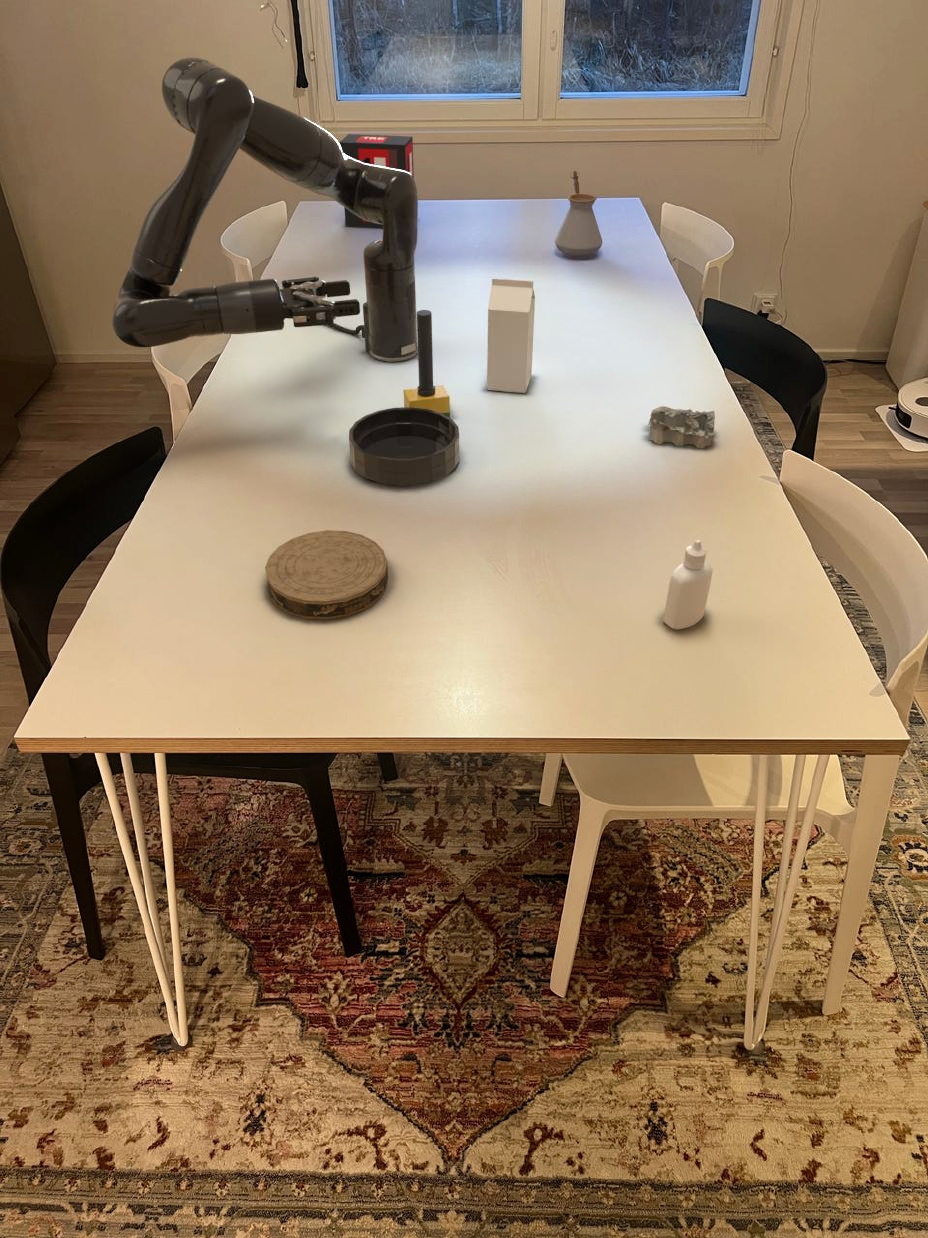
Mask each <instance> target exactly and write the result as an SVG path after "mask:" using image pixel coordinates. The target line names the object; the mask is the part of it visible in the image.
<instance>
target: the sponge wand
mask: <svg viewBox="0 0 928 1238" xmlns="http://www.w3.org/2000/svg"><path fill="white" fill-rule="evenodd" d="M416 320H417V346H418V353H417V364H418V386H417V388H410V389H403V408H405V407H414V408H422V409H429V410H432V411H436V412H439V413H442V414H444V415H446V416H447V417H449V418H451V408H450V407H451V405H450V394H449V393H448V391H447V390H446V388H445V386H444V385H434V363H433V362H434V359H433V358H434V357H433V316H432V311H431V310H428V309H420V310H417V311H416Z"/></svg>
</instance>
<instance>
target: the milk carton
mask: <svg viewBox="0 0 928 1238" xmlns="http://www.w3.org/2000/svg"><path fill="white" fill-rule="evenodd" d="M534 290H535V289H534V280H521V279H509V278H495V277H493V278H491V289H490V295H489V300H488V302H489V303H488V306H487V352H486V353H487V356H486V357H487V358H486V359H487V361H486V390H488V391H494V392H495V391H497V392H506V393H518V394H519V393H520V394H526V393H527V390H528V387H529V384H530V383H531V379H532V371H533V351H534V350H533V349H534V332H535V331H534V329H535V311H536V310H535V307H536V295H535V291H534Z"/></svg>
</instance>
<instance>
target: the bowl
mask: <svg viewBox="0 0 928 1238" xmlns="http://www.w3.org/2000/svg"><path fill="white" fill-rule="evenodd" d="M348 431H349V432H348V443H349V456H350V464H351V465H352V467H353V469H354V471H355V472H356V473H358V474H359V475H360V476H362V477H364V478H365V479H367V480H371V481H373V482H376V483H379V484H381V485H386V486H387V485H389V486H400V487H408V486H417V485H423V484H427V483H431V482H434V481H436V480H439V479H442V478H443V477H445V476H447V475H448V474H450V473H451V472H452V471H453V470H454V469H455V468H456V467H457V465H458V463H459V461H460V430H459V426H458V425H457V423H456V422H455V421H454V419H452V418H451V417H450V418H449V417H447V416H446V415H444V414H442V413H439V412H436V411H432V410H429V409H422V408H414V407H405V408H404V407H391V408H386V409H381V410H377V411H373V412H372V413H369V414H366V415H364V416H363V417H361V418H360V419H358V420H356V421H355V422H354V423H353V424H352V426H351V427H350V428H349V430H348Z"/></svg>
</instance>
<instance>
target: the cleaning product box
mask: <svg viewBox="0 0 928 1238" xmlns="http://www.w3.org/2000/svg"><path fill="white" fill-rule="evenodd" d="M413 139H414V138H413V136H409V135H407V136H406V135H383V134H382V135H381V134H361V133H358V134H357V133H348V134H347V135H346V136H345V137H344V138H342V139H341V140H340V141H338V143H339V145H340V147H341V149H342V151H343V154H345V155H346V156H348V157H350V158H352V159H354V160H357V161H359V162H362V163H365V164H370V165H376V166H381V167H387V168H392V169H397V170H402V171H405V172H408V173H409V174H410V175H411V176H412V177H413V179H414V180H415V176H414V173H415V172H414V144H413V143H414V142H413V141H414V140H413ZM343 209H344V220H345V221H344V222H345V223H344V224H345V228H346V227H347V228H362V229H363V228H364V229H382V230H383V225H381V224H377V223H372V222H368V221H365V220H363V219H361V218H359V217H358V216H356V215H355V214H353V213H352V212H351V211H349V210H348V209H346V208H345V207H344V206H343Z"/></svg>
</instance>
